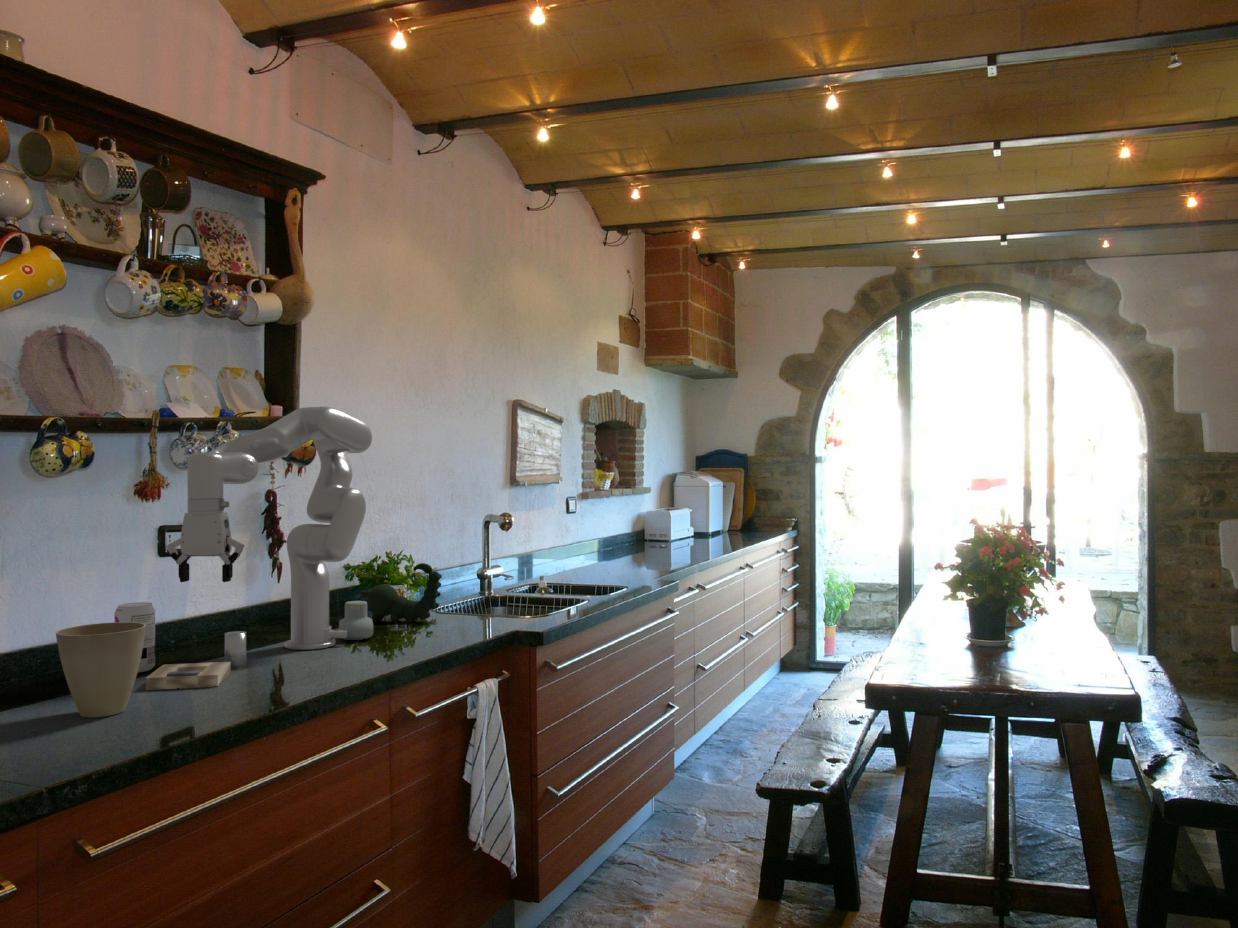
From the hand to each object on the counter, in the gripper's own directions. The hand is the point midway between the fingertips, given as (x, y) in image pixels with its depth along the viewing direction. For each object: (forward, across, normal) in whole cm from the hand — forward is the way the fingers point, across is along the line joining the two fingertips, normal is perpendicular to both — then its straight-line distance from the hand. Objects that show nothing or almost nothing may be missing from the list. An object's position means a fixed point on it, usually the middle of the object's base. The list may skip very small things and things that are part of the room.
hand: (205, 581), depth 215 cm
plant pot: (+20, +3, +38) cm, 43 cm away
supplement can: (+20, +16, 0) cm, 26 cm away
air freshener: (+21, -23, -40) cm, 50 cm away
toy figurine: (+21, -28, -68) cm, 77 cm away
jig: (+20, -2, +11) cm, 23 cm away
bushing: (+20, -6, -3) cm, 21 cm away
